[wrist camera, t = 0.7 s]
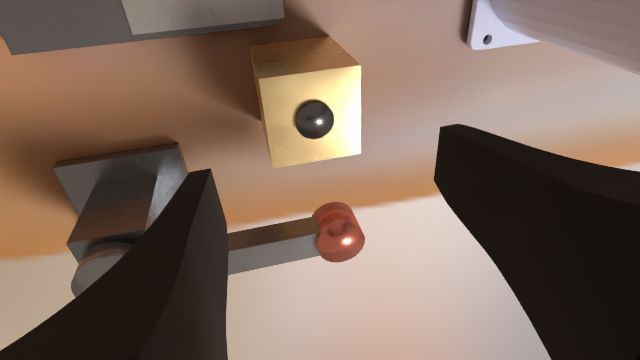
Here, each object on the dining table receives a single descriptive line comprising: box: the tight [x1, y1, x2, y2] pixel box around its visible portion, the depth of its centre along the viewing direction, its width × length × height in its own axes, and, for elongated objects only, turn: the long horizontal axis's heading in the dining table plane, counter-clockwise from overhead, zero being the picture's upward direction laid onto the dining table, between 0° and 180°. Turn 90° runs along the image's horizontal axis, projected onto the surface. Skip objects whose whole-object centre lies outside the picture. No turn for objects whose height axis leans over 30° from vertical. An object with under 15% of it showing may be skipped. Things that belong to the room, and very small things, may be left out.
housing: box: [249, 36, 361, 168], centre depth 17 cm, size 4×4×5 cm
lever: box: [71, 202, 365, 297], centre depth 17 cm, size 13×3×2 cm, turn 94°
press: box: [0, 0, 285, 263], centre depth 16 cm, size 12×18×5 cm, turn 4°
